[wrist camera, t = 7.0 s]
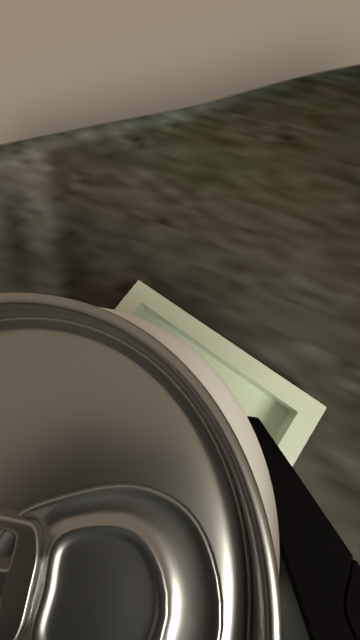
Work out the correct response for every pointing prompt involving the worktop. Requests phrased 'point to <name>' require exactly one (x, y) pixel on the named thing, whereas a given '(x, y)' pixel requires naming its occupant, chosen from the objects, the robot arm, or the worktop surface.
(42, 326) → the can
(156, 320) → the tray
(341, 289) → the worktop surface
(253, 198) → the worktop surface
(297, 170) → the worktop surface
